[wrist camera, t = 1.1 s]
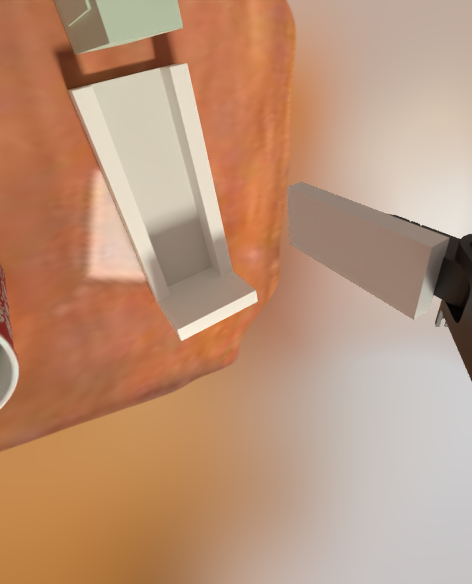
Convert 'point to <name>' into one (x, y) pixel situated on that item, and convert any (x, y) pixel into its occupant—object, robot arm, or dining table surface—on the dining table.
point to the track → (164, 192)
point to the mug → (6, 348)
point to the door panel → (115, 21)
